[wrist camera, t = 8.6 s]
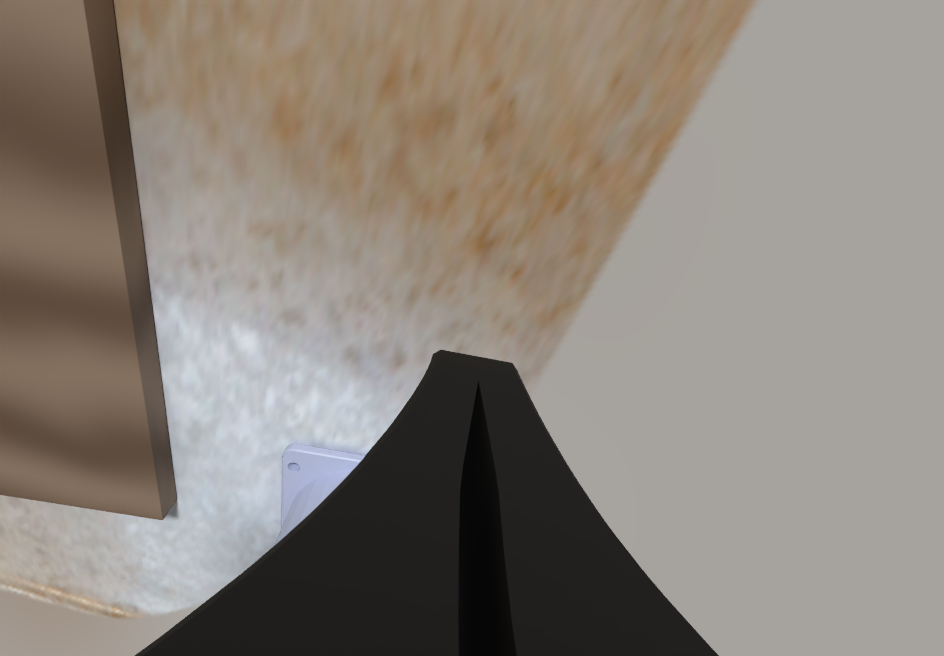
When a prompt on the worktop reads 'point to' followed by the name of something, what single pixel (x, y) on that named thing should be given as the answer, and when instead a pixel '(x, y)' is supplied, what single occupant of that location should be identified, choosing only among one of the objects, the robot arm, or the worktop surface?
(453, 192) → the worktop surface
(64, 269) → the walnut board
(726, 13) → the worktop surface
